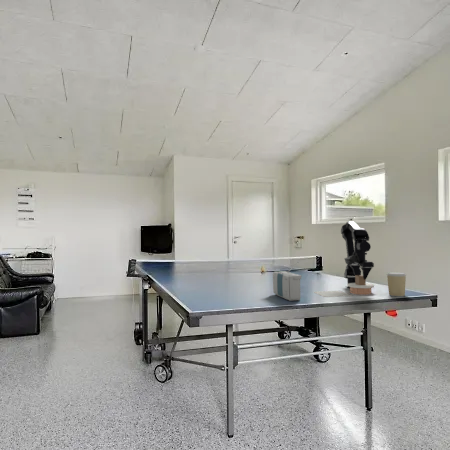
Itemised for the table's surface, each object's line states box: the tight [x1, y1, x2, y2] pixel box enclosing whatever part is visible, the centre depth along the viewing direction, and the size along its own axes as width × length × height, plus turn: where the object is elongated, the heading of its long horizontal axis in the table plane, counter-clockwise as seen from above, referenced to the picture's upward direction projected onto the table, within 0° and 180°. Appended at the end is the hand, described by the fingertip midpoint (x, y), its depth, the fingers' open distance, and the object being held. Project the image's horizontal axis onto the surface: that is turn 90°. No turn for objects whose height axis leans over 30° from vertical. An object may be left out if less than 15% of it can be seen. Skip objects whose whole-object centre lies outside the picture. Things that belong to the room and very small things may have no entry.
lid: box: [346, 274, 375, 289], centre depth 197 cm, size 14×14×6 cm
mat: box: [313, 290, 353, 298], centre depth 195 cm, size 16×16×1 cm
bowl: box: [349, 287, 372, 295], centre depth 197 cm, size 11×11×4 cm
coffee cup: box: [386, 271, 407, 298], centre depth 191 cm, size 9×9×12 cm
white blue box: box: [272, 261, 302, 302], centre depth 189 cm, size 21×8×20 cm, turn 14°
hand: (360, 278), depth 197 cm, fingers open, 9 cm apart
